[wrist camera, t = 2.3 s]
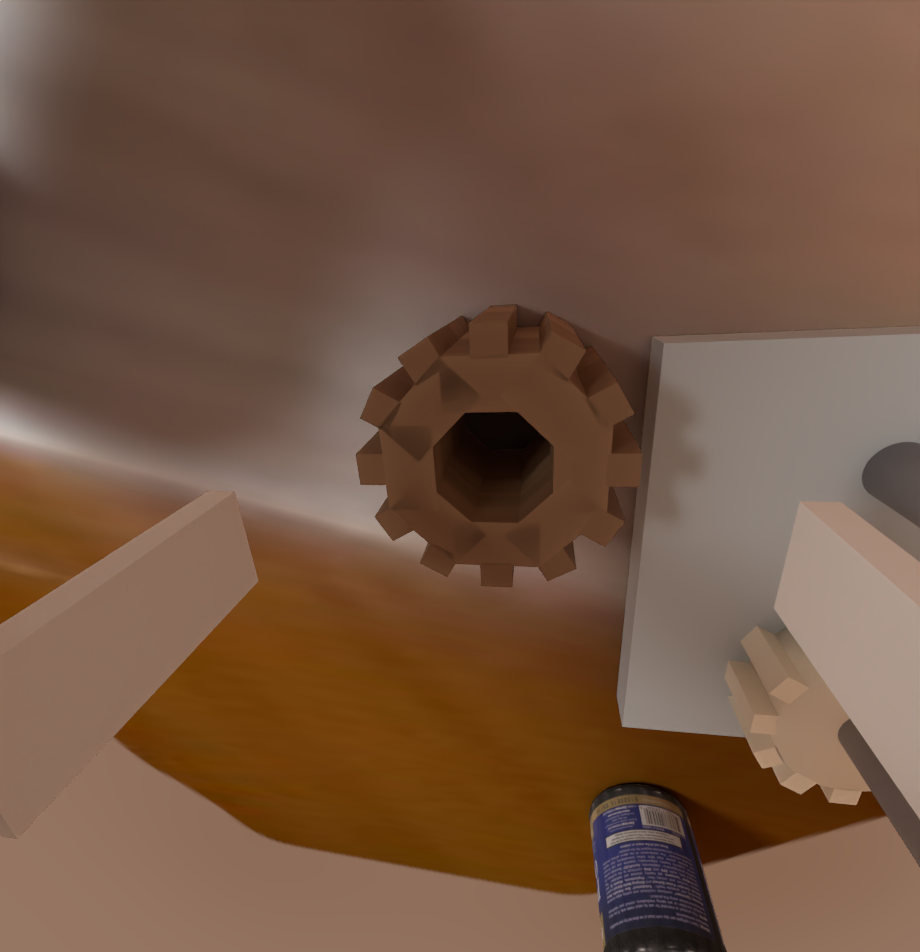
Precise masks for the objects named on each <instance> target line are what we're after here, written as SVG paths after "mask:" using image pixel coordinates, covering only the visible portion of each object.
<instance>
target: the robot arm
mask: <svg viewBox="0 0 920 952" xmlns="http://www.w3.org/2000/svg"><path fill="white" fill-rule="evenodd" d="M257 582H258V578H257V574H256V570H255V567H254V563H253V559H252V555H251V552H250V548H249V544H248V540H247V536H246V533H245V529H244V525H243V521H242V518H241V514H240V510H239V506H238V502H237V499H236V495H235V492H232V491H207V492H206V493H204V494H203V495H201V496H200V497H198V498H196V499H195V500H193V501H192V502H190V503H189V504H187V505H186V506H184V507H183V508H181V509H179V510H178V511H176V512H175V513H173V514H172V515H170V516H169V517H167V518H165V519H164V520H162V521H161V522H159V523H158V524H156V525H155V526H153V527H151V528H150V529H148V530H147V531H145V532H144V533H142V534H141V535H139V536H137V537H136V538H134V539H133V540H131V541H130V542H128V543H127V544H125V545H123V546H122V547H120V548H119V549H117V550H116V551H114V552H113V553H111V554H109V555H108V556H106V557H105V558H103V559H102V560H100V561H99V562H97V563H95V564H94V565H92V566H91V567H89V568H88V569H86V570H85V571H83V572H81V573H80V574H78V575H77V576H75V577H74V578H72V579H71V580H69V581H67V582H66V583H64V584H63V585H61V586H60V587H58V588H57V589H55V590H53V591H52V592H50V593H49V594H47V595H46V596H44V597H43V598H41V599H39V600H38V601H36V602H35V603H33V604H32V605H30V606H29V607H27V608H25V609H24V610H22V611H21V612H19V613H18V614H16V615H15V616H13V617H11V618H10V619H8V620H7V621H5V622H4V623H2V624H1V625H0V836H2V837H8V838H14V839H18V838H19V837H20V836H21V835H22V834H23V833H24V832H25V831H26V830H27V829H28V828H29V826H30V825H31V824H32V823H33V822H34V821H35V820H36V819H37V818H38V817H39V816H40V815H41V813H42V812H43V811H44V810H45V809H46V808H47V807H48V806H49V805H50V804H51V803H52V802H53V801H54V800H55V799H56V797H57V796H58V795H59V794H60V793H61V792H62V791H63V790H64V789H65V788H66V787H67V786H68V785H69V784H70V783H71V781H72V780H73V779H74V778H75V777H76V776H77V775H78V774H79V773H80V772H81V771H82V770H83V769H84V767H85V766H86V765H87V764H88V763H89V762H90V761H91V760H92V759H93V758H94V757H95V755H97V754H98V752H99V751H100V750H101V749H102V748H103V747H104V746H105V745H106V744H107V743H108V742H109V741H110V740H111V739H112V737H113V736H114V735H115V734H116V733H117V732H118V731H119V730H120V729H121V728H122V727H123V726H124V725H125V724H126V722H127V721H128V720H129V719H130V718H131V717H132V716H133V715H134V714H135V713H136V712H137V711H138V710H139V709H140V707H141V706H142V705H143V704H144V703H145V702H146V701H147V700H148V699H149V698H150V697H151V696H152V695H153V694H154V692H155V691H156V690H157V689H158V688H159V687H160V686H161V685H162V684H163V683H164V682H165V681H166V680H167V679H168V677H169V676H170V675H171V674H172V673H173V672H174V671H175V670H176V669H177V668H178V667H179V666H180V665H181V663H182V662H183V661H184V660H185V659H186V658H187V657H188V656H189V655H190V654H191V653H192V652H193V651H194V650H195V648H196V647H197V646H198V645H199V644H200V643H201V642H202V641H203V640H204V639H205V638H206V637H207V636H208V635H209V633H210V632H211V631H212V630H213V629H214V628H215V627H216V626H217V625H218V624H219V623H220V622H221V621H222V620H223V618H224V617H225V616H226V615H227V614H228V613H229V612H230V611H231V610H232V609H233V608H234V607H235V606H236V605H237V603H238V602H239V601H240V600H241V599H242V598H243V597H244V596H245V595H246V594H247V593H248V592H249V591H250V590H251V588H252V587H253V586H254V585H255V584H256V583H257ZM774 609H775V611H776V612H777V614H778V615H779V617H780V618H781V619H782V621H783V622H784V624H785V625H786V627H787V628H788V630H789V631H790V633H791V634H792V635H793V637H794V638H795V640H796V641H797V643H798V644H799V646H800V647H801V648H802V650H803V651H804V653H805V654H806V656H807V657H808V659H809V660H810V661H811V663H812V664H813V666H814V667H815V669H816V670H817V672H818V673H819V674H820V676H821V677H822V679H823V680H824V682H825V683H826V685H827V686H828V687H829V689H830V690H831V692H832V693H833V695H834V696H835V698H836V699H837V700H838V702H839V703H840V705H841V706H842V708H843V709H844V711H845V712H846V713H847V715H848V716H849V718H850V719H851V721H852V722H853V724H854V725H855V726H856V728H857V729H858V731H859V732H860V734H861V735H862V737H863V738H864V739H865V741H866V742H867V744H868V745H869V747H870V748H871V750H872V751H873V752H874V754H875V755H876V757H877V758H878V760H879V761H880V763H881V764H882V765H883V767H884V768H885V770H886V771H887V773H888V774H889V776H890V777H891V779H892V780H893V781H894V783H895V784H896V786H897V787H898V789H899V790H900V792H901V793H902V794H903V796H904V797H905V799H906V800H907V802H908V803H909V805H910V806H911V807H912V809H913V810H914V812H915V813H916V815H917V816H918V818H919V819H920V562H919V561H918V560H916V559H915V558H914V557H912V556H911V555H910V554H908V553H907V552H906V551H904V550H903V549H902V548H901V547H899V546H898V545H897V544H895V543H894V542H893V541H891V540H890V539H889V538H887V537H886V536H885V535H883V534H882V533H881V532H880V531H878V530H877V529H876V528H874V527H873V526H872V525H870V524H869V523H868V522H866V521H865V520H864V519H862V518H861V517H860V516H859V515H857V514H856V513H855V512H853V511H852V510H851V509H849V508H848V507H847V506H845V505H844V504H843V503H841V502H812V501H800V503H799V507H798V511H797V515H796V519H795V523H794V527H793V531H792V535H791V540H790V544H789V548H788V552H787V556H786V560H785V564H784V568H783V572H782V576H781V581H780V585H779V589H778V593H777V597H776V601H775V605H774Z"/></svg>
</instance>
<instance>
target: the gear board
mask: <svg viewBox="0 0 920 952" xmlns="http://www.w3.org/2000/svg"><path fill="white" fill-rule="evenodd" d="M641 452H642V453H643V455H642V465H641V475H640V485H639V487H637V494H636V504H635V514H634V524H633V535H632V545H631V555H630V565H629V575H628V585H627V596H626V606H625V616H624V626H623V636H622V646H621V656H620V667H619V677H618V687H617V701H618V706H619V712H620V717H621V723H622V727H630V728H642V729H654V730H665V731H677V732H688V733H700V734H711V735H723V736H734V737H746V739H747V741H748V743H749V746H750V748H751V750H752V752H753V754H754V756H755V758H756V759H757V761H758V763H759V764H760V766H761V768H762V769H763V768H767V767H772V768H773V771H774V773H775V775H776V777H777V779H778V781H779V783H780V785H782V786H784V787H786V788H788V789H790V790H792V791H794V792H796V793H798V794H800V795H801V794H802V793H804V792H805V791H807V790H808V789H810V788H811V787H812V786H814V785H815V784H819V785H820V787H821V789H822V791H823V793H824V794H825V796H826V798H827V800H828V802H830V803H839V804H849V805H857V802H858V800H859V798H860V795H861V793H862V791H871V792H872V793H873V795H874V796H875V798H876V799H877V801H878V803H879V804H880V806H881V807H882V809H883V810H884V812H885V813H886V815H887V817H888V818H889V820H890V821H891V823H892V824H893V826H894V828H895V829H896V831H897V832H898V834H899V835H900V837H901V838H902V840H903V841H904V843H905V845H906V846H907V848H908V849H909V851H910V853H911V854H912V856H913V857H914V859H915V860H916V862H917V863H918V865H919V867H920V819H919V818H918V816H917V815H916V813H915V812H914V810H913V809H912V807H911V806H910V805H909V803H908V802H907V800H906V799H905V797H904V796H903V794H902V793H901V792H900V790H899V789H898V787H897V786H896V784H895V783H894V781H893V780H892V779H891V777H890V776H889V774H888V773H887V771H886V770H885V768H884V767H883V765H882V764H881V763H880V761H879V760H878V758H877V757H876V755H875V754H874V752H873V751H872V750H871V748H870V747H869V745H868V744H867V742H866V741H865V739H864V738H863V737H862V735H861V734H860V732H859V731H858V729H857V728H856V726H855V725H854V724H853V722H852V721H851V719H850V718H849V716H848V715H847V713H846V712H845V711H844V709H843V708H842V706H841V705H840V703H839V702H838V700H837V699H836V698H835V696H834V695H833V693H832V692H831V690H830V689H829V687H828V686H827V685H826V683H825V682H824V680H823V679H822V677H821V676H820V674H819V673H818V672H817V670H816V669H815V667H814V666H813V664H812V663H811V661H810V660H809V659H808V657H807V656H806V654H805V653H804V651H803V650H802V648H801V647H800V646H799V644H798V643H797V641H796V640H795V638H794V637H793V635H792V634H791V633H790V631H789V630H788V628H787V627H786V625H785V624H784V622H783V621H782V619H781V618H780V617H779V615H778V614H777V612H776V611H775V609H774V605H775V601H776V597H777V593H778V589H779V585H780V581H781V576H782V572H783V568H784V564H785V560H786V556H787V552H788V548H789V544H790V540H791V535H792V531H793V527H794V523H795V519H796V515H797V511H798V507H799V503H800V501H812V502H841V503H843V504H844V505H845V506H847V507H848V508H849V509H851V510H852V511H853V512H855V513H856V514H857V515H859V516H860V517H861V518H862V519H864V520H865V521H866V522H868V523H869V524H870V525H872V526H873V527H874V528H876V529H877V530H878V531H880V532H881V533H882V534H883V535H885V536H886V537H887V538H889V539H890V540H891V541H893V542H894V543H895V544H897V545H898V546H899V547H901V548H902V549H903V550H904V551H906V552H907V553H908V554H910V555H911V556H912V557H914V558H915V559H916V560H918V561H919V562H920V326H902V327H877V328H852V329H827V330H802V331H777V332H752V333H727V334H702V335H677V336H652V342H651V352H650V362H649V372H648V382H647V392H646V402H645V413H644V423H643V433H642V443H641Z"/></svg>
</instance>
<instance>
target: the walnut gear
mask: <svg viewBox="0 0 920 952" xmlns="http://www.w3.org/2000/svg"><path fill="white" fill-rule="evenodd" d="M468 325H469V326H468ZM398 359H399V360H400V362H401V363H402V365H403V367H401V368H400V369H398V370H397V371H396V372H394V373H393V374H392V375H390V376H389V377H387V378H386V379H385V380H383V381H382V382H380V383H379V384H378V385H376V386H375V387H374V388H373V389H372V391H371V393H370V396H369V398H368V400H367V403H366V405H365V408H364V410H363V412H362V415H361V417H360V418H361V419H363V420H364V421H366V422H368V423H370V424H372V425H374V426H376V427H378V428H379V431H378V432H377V433H376V434H375V435H374V436H373V437H372V438H371V439H370V440H369V441H368V442H367V443H366V444H365V445H364V446H363V447H362V449H361V450H360V451H359V452H358V453H357V454H356V458H357V465H358V471H359V478H360V484H361V485H386V487H387V495H388V497H387V499H386V500H385V502H384V503H383V505H382V506H381V508H380V509H379V511H378V512H377V514H376V515H375V518H376V519H377V521H378V522H379V523H380V525H381V526H382V527H383V528H384V530H385V531H386V532H387V534H388V535H389V536H390V538H391V539H392V540H393V541H394V540H396V539H398V538H399V537H401V536H403V535H405V534H407V533H409V532H411V531H413V530H414V531H415V532H416V533H418V534H419V535H420V536H421V537H422V538H424V539H425V540H426V541H427V542H428V544H427V547H426V549H425V552H424V554H423V557H422V559H421V562H420V563H421V564H423V565H425V566H427V567H428V568H430V569H432V570H434V571H436V572H438V573H440V574H442V575H444V576H446V577H448V575H449V573H450V572H451V570H452V568H453V567H454V565H455V564H472V565H480V568H481V586H493V587H512V585H513V572H514V566H528V567H538V568H539V569H540V571H541V572H542V574H543V575H544V577H545V578H546V580H547V581H549V580H551V579H553V578H556V577H558V576H561V575H563V574H565V573H568V572H570V571H572V570H575V569H576V563H575V555H574V547H573V540H574V539H575V538H577V537H578V536H579V535H581V534H582V535H584V536H585V537H587V538H589V539H591V540H593V541H595V542H597V543H599V544H601V545H603V546H605V547H606V545H607V544H608V543H609V542H610V540H611V539H612V538H613V536H614V535H615V534H616V533H617V531H618V530H619V529H620V528H621V526H622V525H623V524H624V522H625V520H624V517H623V515H622V512H621V509H620V506H619V503H618V500H617V497H616V494H615V492H614V489H613V487H639V485H640V475H641V465H642V455H643V453H642V452H641V450H640V448H639V446H638V445H637V443H636V441H635V439H634V438H633V436H632V434H631V432H630V431H629V429H628V427H627V425H626V424H625V422H624V419H626V418H628V417H630V416H632V415H634V412H633V410H632V408H631V406H630V404H629V403H628V401H627V399H626V397H625V395H624V393H623V391H622V390H621V388H620V386H619V384H618V382H617V381H616V379H615V378H614V376H613V375H612V374H611V372H610V371H609V369H608V368H607V367H606V365H605V364H604V362H603V361H602V360H601V358H600V357H599V355H598V354H597V353H596V351H595V350H594V348H593V347H592V346H590V347H588V348H587V349H585V348H584V346H583V344H582V343H581V341H580V339H579V338H578V336H577V335H576V333H575V331H574V330H573V328H572V326H571V325H570V324H569V323H567V322H565V321H563V320H562V319H560V318H558V317H556V316H554V315H553V314H551V313H549V312H546V314H545V316H544V318H543V320H542V321H541V323H540V325H539V326H533V327H517V305H499V306H490V307H489V308H487V309H486V310H485V311H484V312H482V313H481V314H480V315H478V316H477V317H476V318H475V319H473V320H472V321H471V322H469V323H468V324H467V323H466V321H465V320H464V318H463V316H461V317H459V318H457V319H456V320H454V321H453V322H451V323H449V324H448V325H446V326H444V327H443V328H441V329H440V330H438V331H436V332H435V333H433V334H431V335H430V336H428V337H427V338H425V339H424V340H422V341H421V342H419V343H418V344H416V345H415V346H414V347H412V348H411V349H409V350H408V351H406V352H405V353H403V354H402V355H400V356H399V357H398ZM473 412H518V413H519V414H520V415H521V416H522V417H523V418H524V419H525V420H526V421H527V422H528V423H530V424H531V425H532V426H533V427H534V428H535V429H536V430H537V431H538V432H539V433H540V435H539V436H538V437H537V438H536V439H535V440H534V441H533V442H532V443H530V444H529V445H528V446H527V447H526V448H525V449H524V450H490V449H488V448H487V447H486V446H485V445H484V444H483V443H482V442H481V441H480V440H479V439H477V438H476V437H475V436H474V435H473V434H472V433H471V432H470V431H469V430H468V429H466V428H465V413H473Z"/></svg>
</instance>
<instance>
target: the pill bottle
mask: <svg viewBox="0 0 920 952" xmlns="http://www.w3.org/2000/svg"><path fill="white" fill-rule="evenodd" d="M589 820H590V826H591V836H592V845H593V855H594V865H595V874H596V883H597V893H598V903H599V912H600V921H601V932H602V941H603V950H604V952H727V951H726V948H725V944H724V940H723V937H722V933H721V930H720V927H719V923H718V919H717V916H716V912H715V909H714V905H713V902H712V898H711V894H710V891H709V888H708V884H707V880H706V877H705V873H704V870H703V866H702V862H701V859H700V855H699V852H698V848H697V845H696V841H695V838H694V834H693V831H692V827H691V824H690V820H689V817H688V814H687V812H686V810H685V808H684V807H683V806H682V805H681V803H680V802H679V801H678V800H677V799H675V798H674V797H673V796H672V795H670V794H669V793H667V792H665V791H663V790H660V789H658V788H655V787H652V786H648V785H641V784H624V785H618V786H615V787H612V788H609V789H606V790H605V791H603V792H601V793H600V794H599V795H598V796H597V797H596V798H595V800H594V801H593V802H592V805H591V809H590V813H589Z"/></svg>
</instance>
